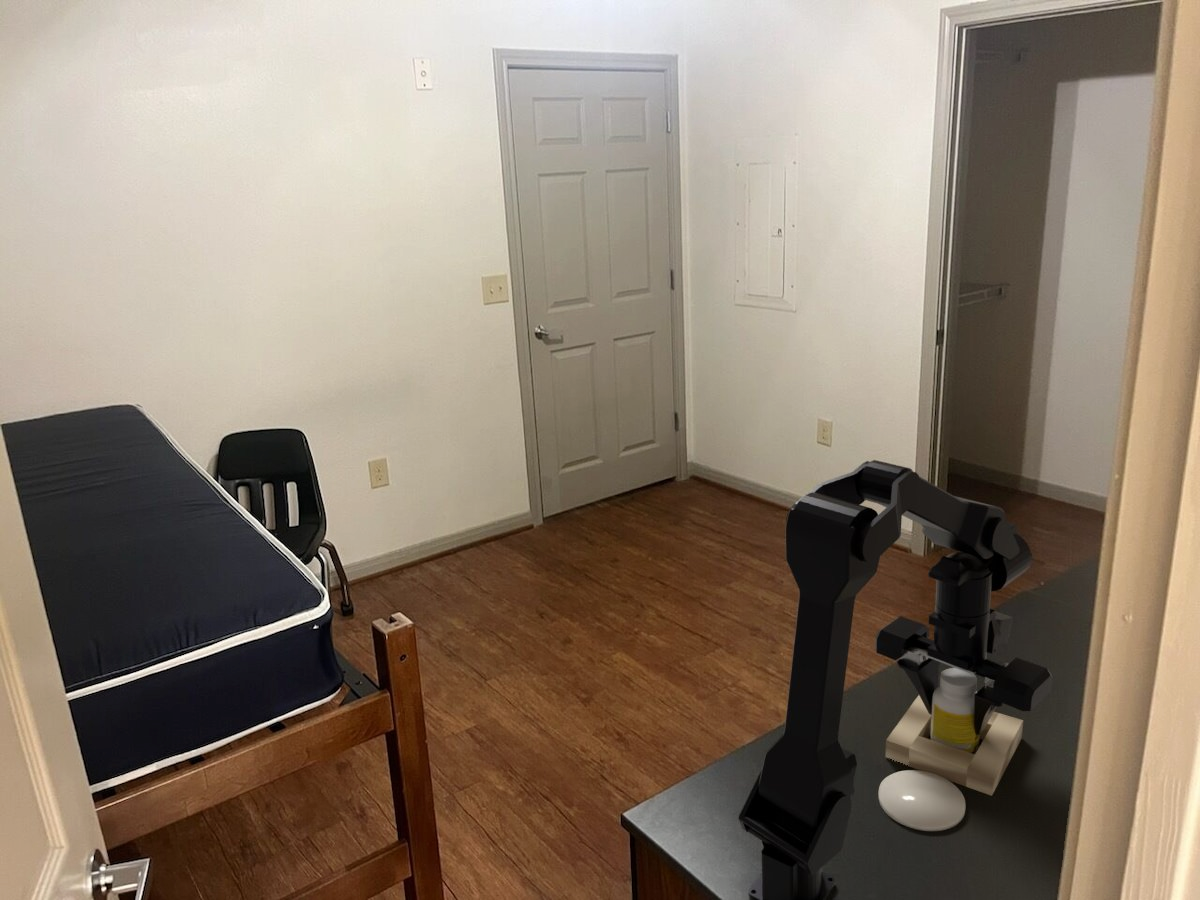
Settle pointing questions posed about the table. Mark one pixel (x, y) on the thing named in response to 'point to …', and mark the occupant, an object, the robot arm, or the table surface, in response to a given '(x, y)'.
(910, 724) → the frame
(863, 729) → the table surface
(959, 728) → the supplement bottle
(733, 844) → the table surface
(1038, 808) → the table surface
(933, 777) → the ceramic coaster
